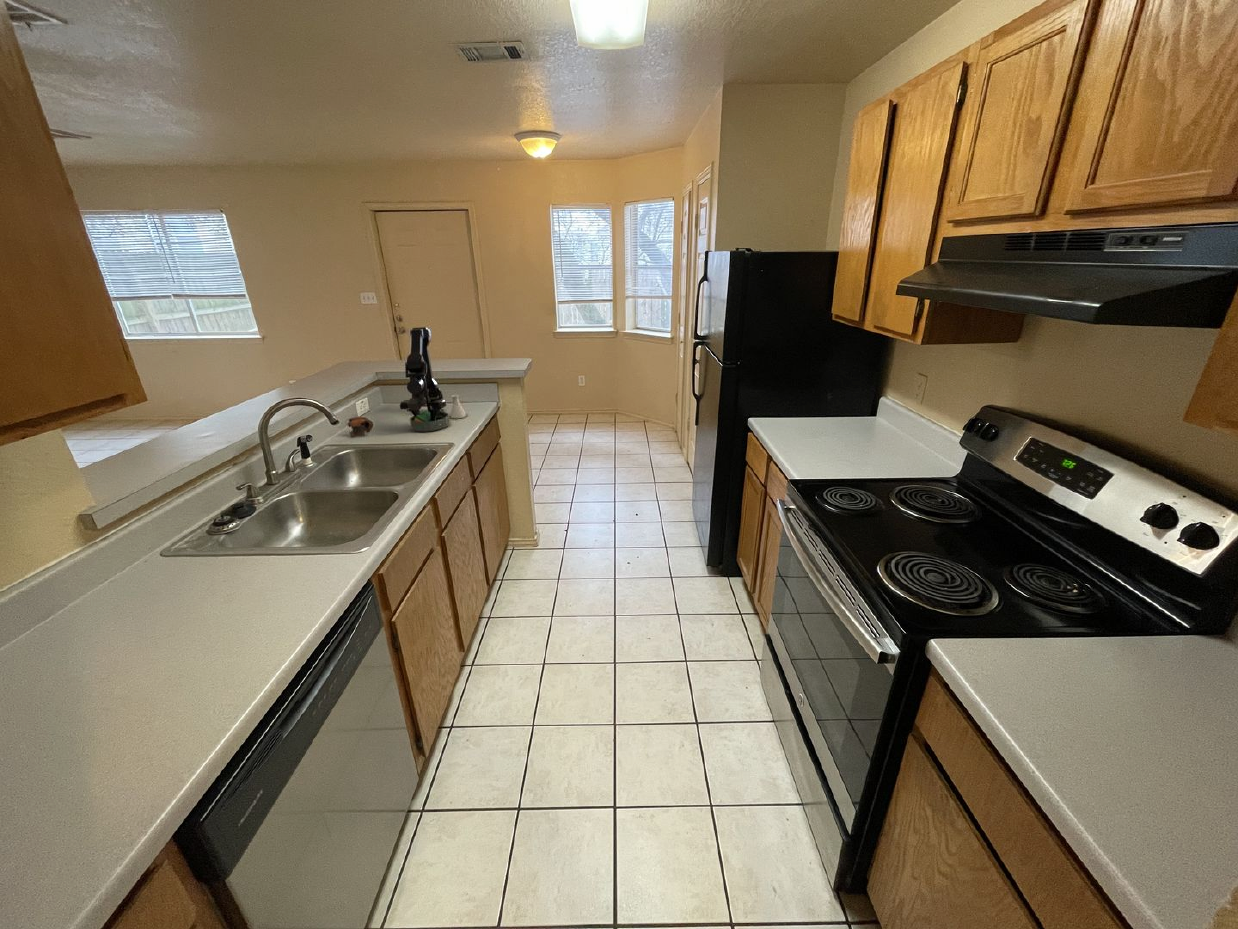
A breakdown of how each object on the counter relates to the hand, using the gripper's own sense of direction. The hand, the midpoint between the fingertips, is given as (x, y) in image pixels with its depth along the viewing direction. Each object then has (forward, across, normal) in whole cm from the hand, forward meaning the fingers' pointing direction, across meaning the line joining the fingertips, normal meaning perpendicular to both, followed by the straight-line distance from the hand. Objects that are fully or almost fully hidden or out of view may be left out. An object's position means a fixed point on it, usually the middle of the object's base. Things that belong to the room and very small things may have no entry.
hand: (426, 423), depth 221 cm
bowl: (+1, +2, 0) cm, 2 cm away
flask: (+2, +8, +15) cm, 17 cm away
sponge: (-1, -1, 0) cm, 1 cm away
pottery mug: (+2, -24, -10) cm, 26 cm away
